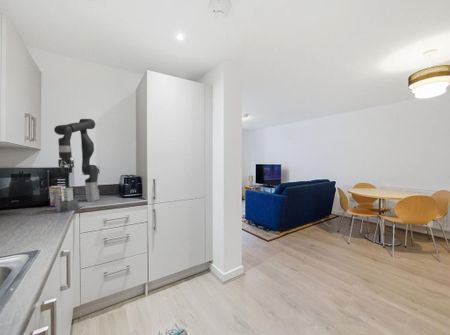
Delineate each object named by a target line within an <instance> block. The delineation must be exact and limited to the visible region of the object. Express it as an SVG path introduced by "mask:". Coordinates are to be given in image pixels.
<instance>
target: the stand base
mask: <svg viewBox="0 0 450 335" xmlns="http://www.w3.org/2000/svg"><path fill="white" fill-rule="evenodd" d="M82 207H85V208H86V206H85V205H84V206H83V205H79V199H74V198H73V201H69V202H65V201H60V212H59V213H63V212H64V213H65V214H66V212H67V213H70V212H69V211H71V212H74V211H79V210H81V209H80V208H82ZM82 209H83V208H82ZM73 210H74V211H73ZM53 212H56V210H55V209H53ZM64 213H63V214H64Z"/></svg>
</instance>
